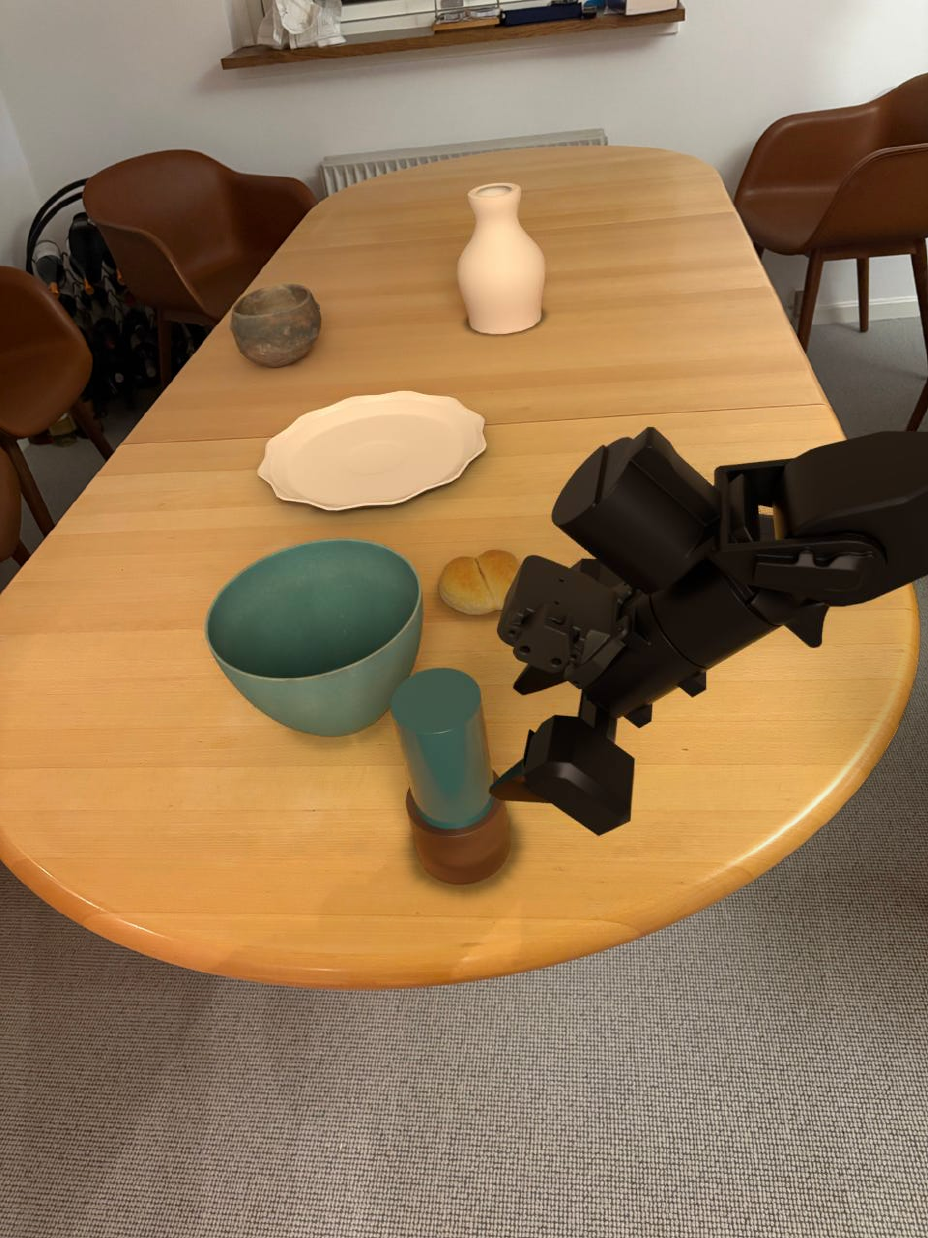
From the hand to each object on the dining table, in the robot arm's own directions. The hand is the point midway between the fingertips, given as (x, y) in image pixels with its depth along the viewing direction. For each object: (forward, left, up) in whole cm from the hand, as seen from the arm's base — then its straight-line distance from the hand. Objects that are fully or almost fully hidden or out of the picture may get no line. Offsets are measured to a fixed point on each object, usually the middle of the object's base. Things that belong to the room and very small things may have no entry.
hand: (506, 739), depth 59 cm
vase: (+41, -95, -13) cm, 104 cm away
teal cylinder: (+4, +1, -7) cm, 8 cm away
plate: (+40, -49, -13) cm, 65 cm away
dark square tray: (-12, -41, -13) cm, 45 cm away
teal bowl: (+21, -9, -13) cm, 27 cm away
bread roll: (+15, -28, -13) cm, 34 cm away
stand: (+4, +1, -13) cm, 13 cm away
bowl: (+71, -74, -13) cm, 104 cm away
